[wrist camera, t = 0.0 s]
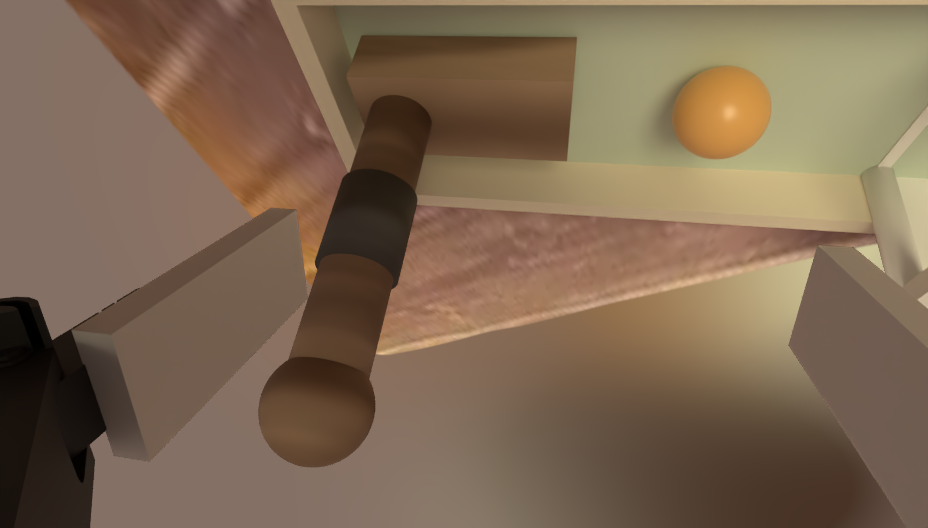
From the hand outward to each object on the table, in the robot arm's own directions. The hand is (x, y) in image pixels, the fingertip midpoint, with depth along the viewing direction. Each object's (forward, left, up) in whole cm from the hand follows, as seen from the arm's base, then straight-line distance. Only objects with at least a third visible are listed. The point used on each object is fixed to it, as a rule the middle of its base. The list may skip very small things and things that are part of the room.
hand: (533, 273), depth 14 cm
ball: (+6, +7, -12) cm, 15 cm away
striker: (+6, -4, -14) cm, 16 cm away
